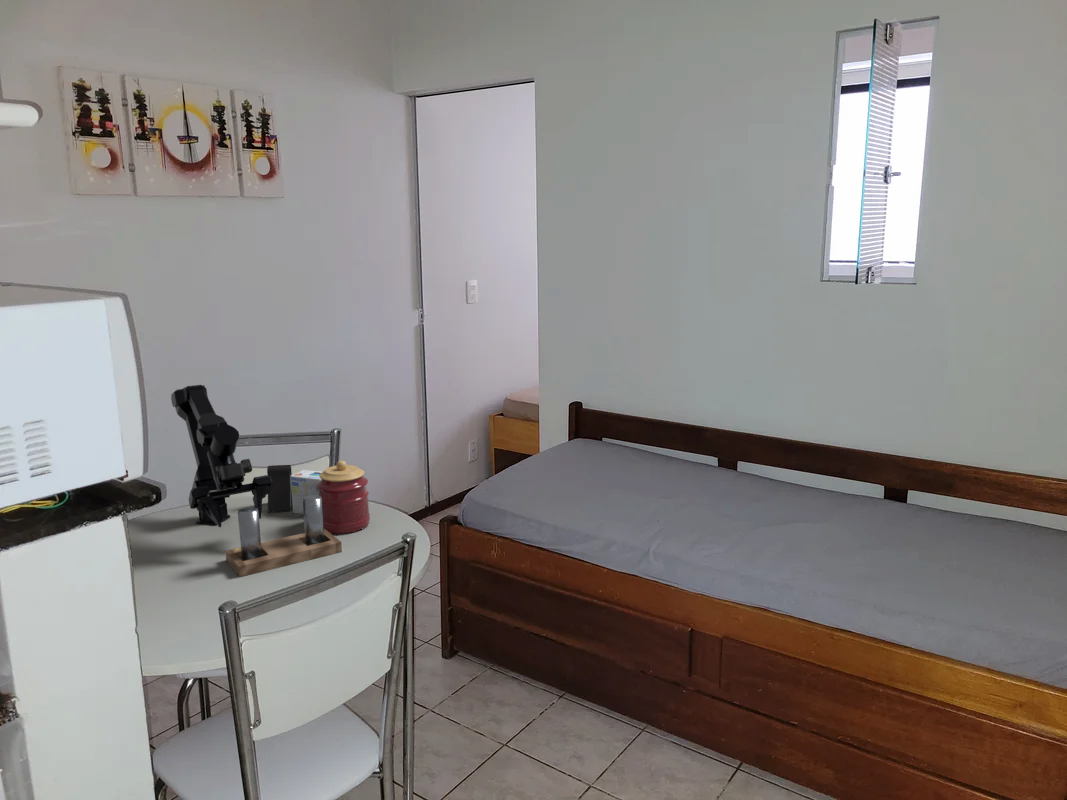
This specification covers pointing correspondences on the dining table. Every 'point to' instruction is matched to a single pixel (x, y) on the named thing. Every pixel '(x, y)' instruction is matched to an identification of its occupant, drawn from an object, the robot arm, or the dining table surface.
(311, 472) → the light bulb box
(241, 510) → the cylinder
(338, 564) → the dining table surface
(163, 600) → the dining table surface
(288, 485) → the phone stand
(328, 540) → the wooden slotted holder
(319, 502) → the cylinder
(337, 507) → the canister
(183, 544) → the dining table surface
